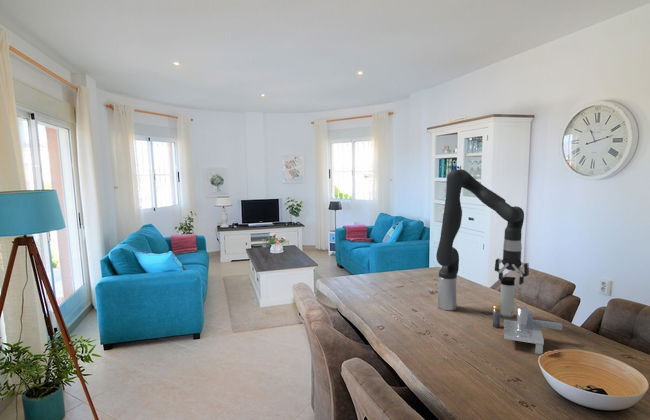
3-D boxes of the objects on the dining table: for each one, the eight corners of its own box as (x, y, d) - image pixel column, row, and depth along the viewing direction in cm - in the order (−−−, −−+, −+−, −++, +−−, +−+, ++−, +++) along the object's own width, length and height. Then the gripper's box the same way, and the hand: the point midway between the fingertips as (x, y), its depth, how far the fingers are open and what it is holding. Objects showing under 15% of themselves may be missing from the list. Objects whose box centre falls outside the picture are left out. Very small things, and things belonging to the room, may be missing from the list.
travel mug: (516, 318, 175) (517, 279, 173) (501, 317, 177) (502, 279, 174) (512, 313, 181) (513, 275, 179) (498, 312, 183) (499, 275, 181)
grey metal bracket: (504, 348, 146) (504, 316, 145) (503, 331, 161) (504, 302, 160) (567, 359, 137) (569, 324, 135) (560, 340, 151) (561, 309, 150)
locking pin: (492, 327, 166) (492, 307, 165) (492, 324, 169) (492, 304, 168) (500, 328, 165) (500, 308, 164) (500, 325, 168) (500, 305, 167)
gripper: (493, 248, 167) (492, 281, 169) (526, 252, 158) (525, 287, 159) (498, 245, 173) (497, 277, 175) (531, 249, 163) (529, 283, 165)
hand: (510, 282), depth 167 cm, fingers open, 8 cm apart
